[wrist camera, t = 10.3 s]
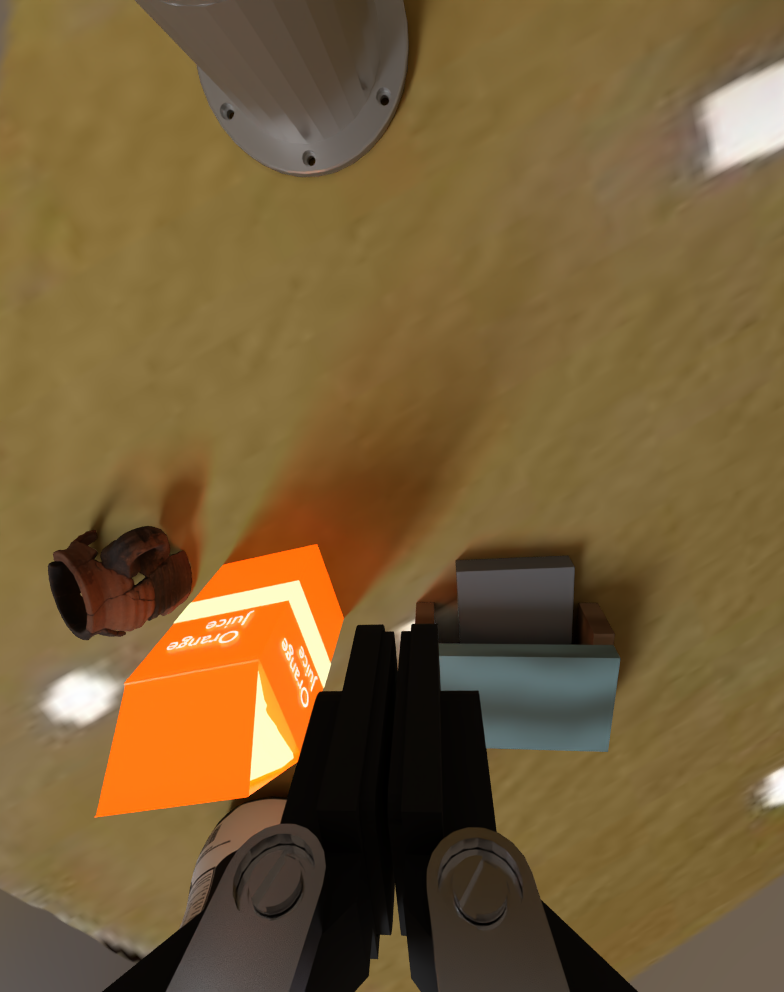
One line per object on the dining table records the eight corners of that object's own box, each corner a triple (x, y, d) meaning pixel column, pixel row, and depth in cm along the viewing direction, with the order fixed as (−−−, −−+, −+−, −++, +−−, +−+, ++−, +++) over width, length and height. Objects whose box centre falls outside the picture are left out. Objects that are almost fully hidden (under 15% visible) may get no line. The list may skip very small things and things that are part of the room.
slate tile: (455, 557, 41) (456, 571, 39) (566, 552, 40) (574, 567, 38) (462, 691, 46) (463, 711, 44) (561, 690, 45) (568, 710, 43)
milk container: (378, 892, 56) (353, 1141, 39) (232, 886, 58) (149, 1121, 41) (363, 780, 50) (328, 1017, 33) (201, 777, 52) (90, 1001, 35)
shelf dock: (416, 602, 42) (413, 644, 37) (597, 603, 41) (622, 646, 35) (420, 708, 46) (418, 759, 41) (585, 711, 45) (605, 765, 39)
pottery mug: (181, 627, 46) (87, 672, 39) (130, 550, 48) (33, 581, 42) (222, 551, 39) (116, 590, 33) (160, 466, 41) (50, 487, 35)
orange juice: (221, 563, 42) (54, 761, 24) (317, 542, 41) (219, 736, 22) (254, 637, 45) (125, 869, 26) (345, 620, 43) (278, 853, 25)
